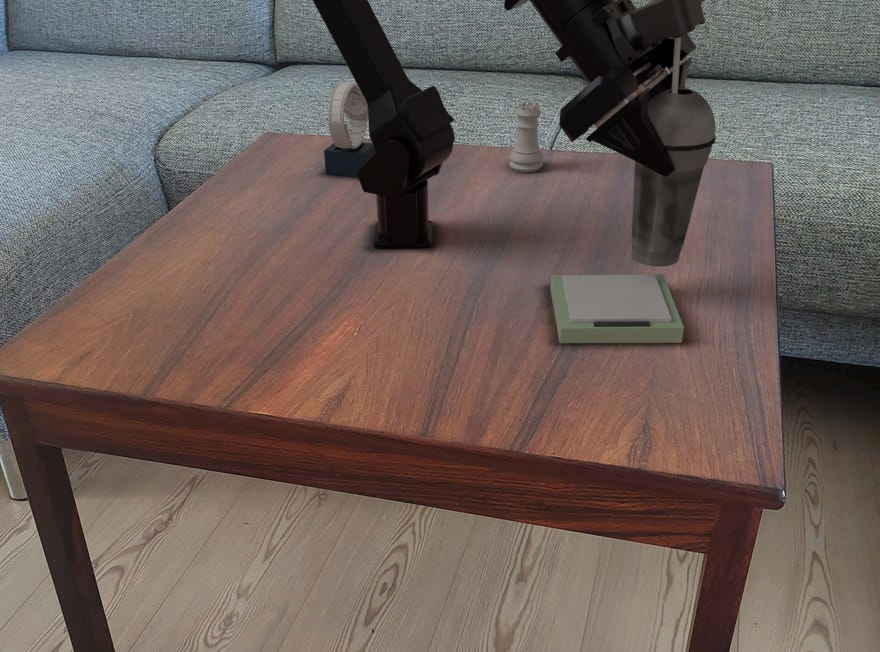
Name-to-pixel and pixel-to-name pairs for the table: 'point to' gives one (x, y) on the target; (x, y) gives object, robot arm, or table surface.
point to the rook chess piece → (527, 140)
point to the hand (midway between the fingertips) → (684, 160)
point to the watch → (347, 146)
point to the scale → (615, 309)
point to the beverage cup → (672, 197)
